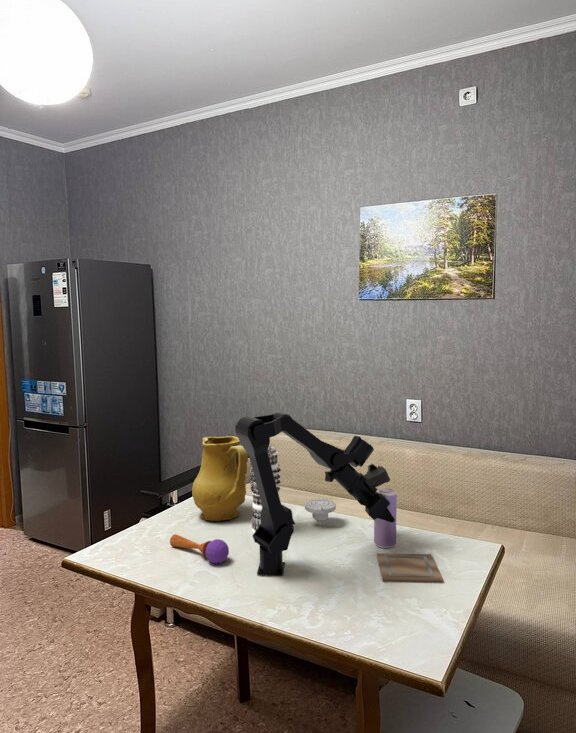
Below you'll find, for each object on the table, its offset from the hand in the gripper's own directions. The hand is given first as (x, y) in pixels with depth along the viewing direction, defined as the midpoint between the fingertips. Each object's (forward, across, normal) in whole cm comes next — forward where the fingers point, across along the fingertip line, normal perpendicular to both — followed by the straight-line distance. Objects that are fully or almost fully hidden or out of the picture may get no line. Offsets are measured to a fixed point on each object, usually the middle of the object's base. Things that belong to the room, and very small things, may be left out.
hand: (390, 517), depth 147 cm
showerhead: (-6, +18, +17) cm, 25 cm away
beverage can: (+4, 0, +6) cm, 8 cm away
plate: (+5, -14, +6) cm, 16 cm away
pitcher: (-27, +30, +38) cm, 55 cm away
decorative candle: (-17, +16, +29) cm, 37 cm away
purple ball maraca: (-31, +3, +43) cm, 53 cm away
